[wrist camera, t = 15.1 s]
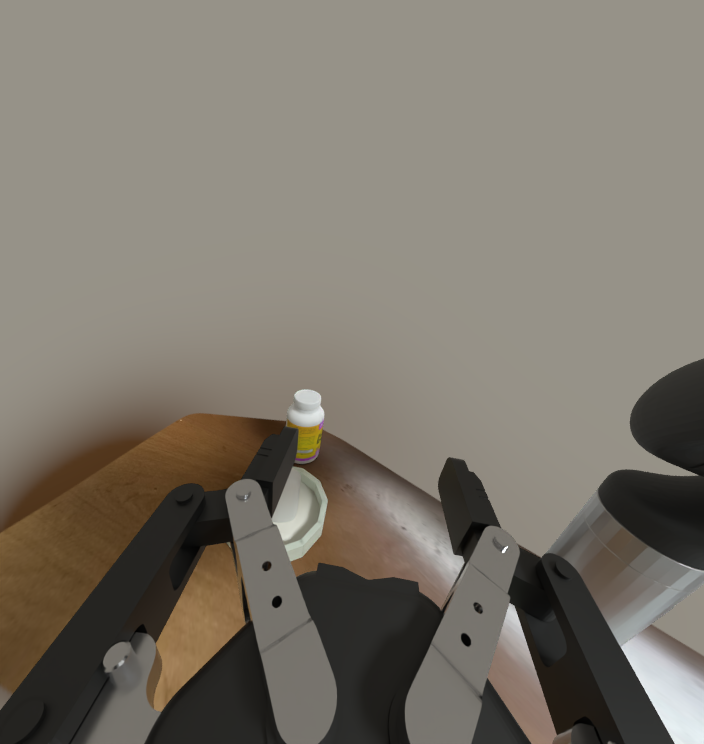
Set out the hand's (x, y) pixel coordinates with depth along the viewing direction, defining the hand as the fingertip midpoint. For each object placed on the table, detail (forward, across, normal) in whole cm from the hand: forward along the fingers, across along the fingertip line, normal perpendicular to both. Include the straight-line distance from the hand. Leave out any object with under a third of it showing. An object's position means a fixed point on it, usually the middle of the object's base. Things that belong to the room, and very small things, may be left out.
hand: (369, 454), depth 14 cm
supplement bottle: (+27, +9, +28) cm, 40 cm away
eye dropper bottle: (+14, +9, +27) cm, 32 cm away
